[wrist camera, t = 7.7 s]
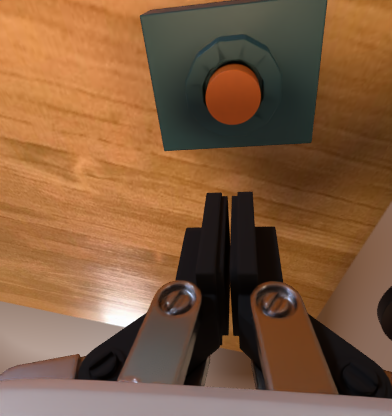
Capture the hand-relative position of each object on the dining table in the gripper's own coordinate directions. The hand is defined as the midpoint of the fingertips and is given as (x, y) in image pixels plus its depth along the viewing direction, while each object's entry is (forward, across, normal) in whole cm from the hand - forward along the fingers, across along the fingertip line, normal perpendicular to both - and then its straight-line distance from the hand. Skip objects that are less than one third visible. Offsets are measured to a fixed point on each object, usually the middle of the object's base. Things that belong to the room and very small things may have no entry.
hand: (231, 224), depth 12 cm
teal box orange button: (+18, 0, -1) cm, 18 cm away
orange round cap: (+13, 0, -1) cm, 14 cm away
